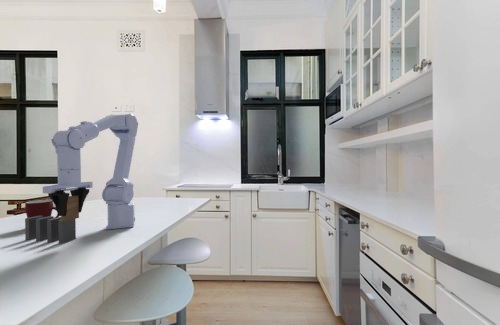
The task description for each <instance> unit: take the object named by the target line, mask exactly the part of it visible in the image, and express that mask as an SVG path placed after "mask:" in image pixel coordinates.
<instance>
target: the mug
mask: <svg viewBox="0 0 500 325" xmlns="http://www.w3.org/2000/svg"><path fill="white" fill-rule="evenodd" d="M24 205H25V206H24V207H25V208H24V209H25V214H26V218H30V217H35V216H43V218H44V217H48V216H52V214H53V210H55V211H56V216H54V218H57V217H60V216H59V215H58V212H57V209H56V207H55V206H54V203H53V201H52V200H51V199H40V200H38V199H37V200H32V201H27V202H25V203H24Z"/></svg>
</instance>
